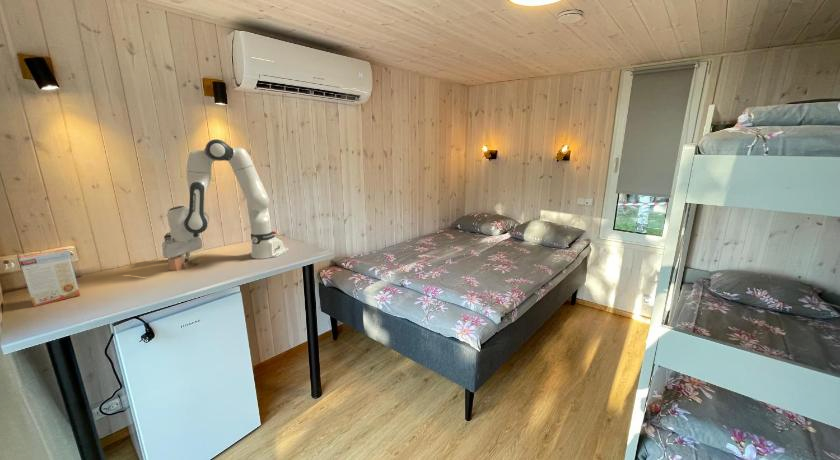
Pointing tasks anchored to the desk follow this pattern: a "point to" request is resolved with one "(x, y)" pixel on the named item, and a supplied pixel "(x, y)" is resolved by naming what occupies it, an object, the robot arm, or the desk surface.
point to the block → (176, 263)
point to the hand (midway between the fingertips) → (185, 261)
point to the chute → (190, 263)
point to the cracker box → (49, 276)
